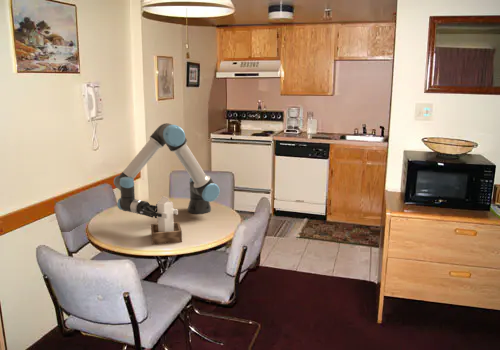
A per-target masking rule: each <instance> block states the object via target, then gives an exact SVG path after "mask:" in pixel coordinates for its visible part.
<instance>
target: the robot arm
mask: <svg viewBox="0 0 500 350" xmlns="http://www.w3.org/2000/svg"><path fill="white" fill-rule="evenodd" d="M187 139H188V138H187V137H186V133H185V131H184V129H183V128H182V127H181V126H179V125H177V124H171V123H163V124H160V125H158V127H157V128H156V129H155V130H154V131H153V132H152V134H151V135H150V136H149V140H148V141H147V143H146V144H145V145H144V146H143V147H142V148H141V150H140V151H139V152H138V153H137V155H136V156H135V157H134V158H133V159H132V160H131V161H130V162H129V164H128V165H127V166H126V168H125V169H124V170H123V171H122V172H121V173H120V174H119V175H117V176H115V177H114V178H113V184H114V187H115V188H117V189H118V190H119V191H120V197H119V198H118V199H117V203H116V207H117V208H118V209H119V210H120V211H123V212H129V213H134V214H136V215H142V216H146V217H148V218H154V219H158V217H161V218H166V219H167V218H168V215H167V213H163V212H158V211H157V203H156V204H155V205H153V204H150V202H148V201H145V200H141V199H136V197H135V195H136V193H135V182H134V181H135V180H134V179H135V178H136V177H137V176H138V175H139V173H140V172H141V171H142V170H143V169H144V167H145V166H146V165H147V164H148V163H149V161H150V160H151V159H152V158H153V156H155V154H156V153H157V152H158V150H160V149H162V148H163V147H164V146H167V148H168V149H169V151H170V152H172V153H174V154H175V156H176V157H177V159H178V160H179V162H180V163H181V165H182V166H183V168H184V169H185V170H186V172H187V174H188V175H189V203H188V206H187V212H188V213H190V214H196V215H197V214H207V213H210V212H211V211H212V206H211V203H210V202H214V201H215V200H216V199H218V197H219V196H220V191H221V190H220V187H219V186H218V184H217V183H214V181H213V179H212V178H211V176H210V175H207V174H206V173H205V171H204V170H203V168H202V166H201V164H200V163H199V162H198V159H197V158H196V156H195V155H194V154H193V152H192V150H191V149H190V147H189V146H188V145H187V144H188V140H187ZM173 215H179V210H178V209H177V208H173Z"/></svg>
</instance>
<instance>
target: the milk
mask: <svg viewBox="0 0 500 350" xmlns="http://www.w3.org/2000/svg"><path fill="white" fill-rule="evenodd" d="M156 204H157V211H158V212H163V213H167V215H168V218H167V219H166V218H161V217H157V224H158V232H169V231H174V214H173V209H174V203H173V201H171V200H169V197H167V196H164V195H161V197H160V200H159V199H158V201H157V203H156Z"/></svg>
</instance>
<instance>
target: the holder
mask: <svg viewBox="0 0 500 350" xmlns="http://www.w3.org/2000/svg"><path fill="white" fill-rule="evenodd" d="M150 228H151V229H150V234H151V235H150V236H151V244H152V245H162V244H175V243H182V242H183V238H182V237H183V233H182V232H183V231H182V227H181V223H180V221H176V222H174V231H169V232H158V223H151V224H150Z"/></svg>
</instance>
